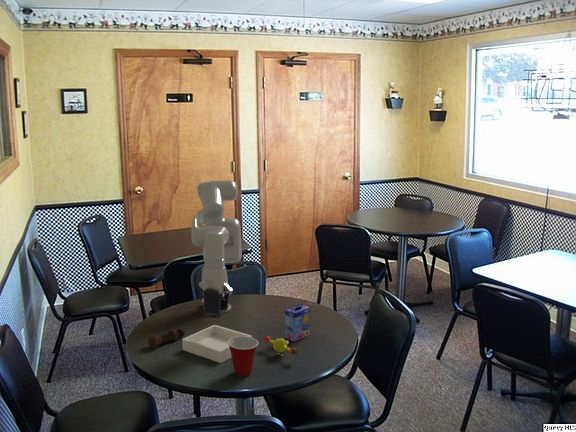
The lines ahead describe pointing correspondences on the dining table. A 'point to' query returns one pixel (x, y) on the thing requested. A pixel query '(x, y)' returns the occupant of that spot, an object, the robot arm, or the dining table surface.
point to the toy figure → (280, 345)
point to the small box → (212, 304)
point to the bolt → (164, 338)
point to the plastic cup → (242, 354)
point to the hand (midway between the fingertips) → (216, 306)
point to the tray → (211, 343)
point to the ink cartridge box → (297, 322)
